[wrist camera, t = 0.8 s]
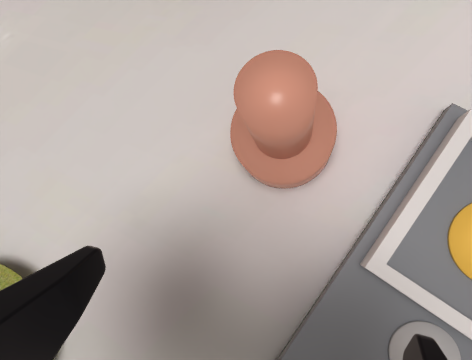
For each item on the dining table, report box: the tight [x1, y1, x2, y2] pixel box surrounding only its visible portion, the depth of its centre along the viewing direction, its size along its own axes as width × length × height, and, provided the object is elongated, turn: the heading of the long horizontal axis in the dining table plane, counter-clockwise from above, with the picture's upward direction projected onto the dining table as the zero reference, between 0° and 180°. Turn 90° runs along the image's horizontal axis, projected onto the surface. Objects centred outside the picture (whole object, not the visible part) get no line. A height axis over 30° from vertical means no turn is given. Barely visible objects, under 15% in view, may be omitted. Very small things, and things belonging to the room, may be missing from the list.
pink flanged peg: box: [231, 50, 337, 188], centre depth 19 cm, size 6×6×9 cm
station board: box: [277, 103, 472, 360], centre depth 18 cm, size 24×12×3 cm, turn 145°
